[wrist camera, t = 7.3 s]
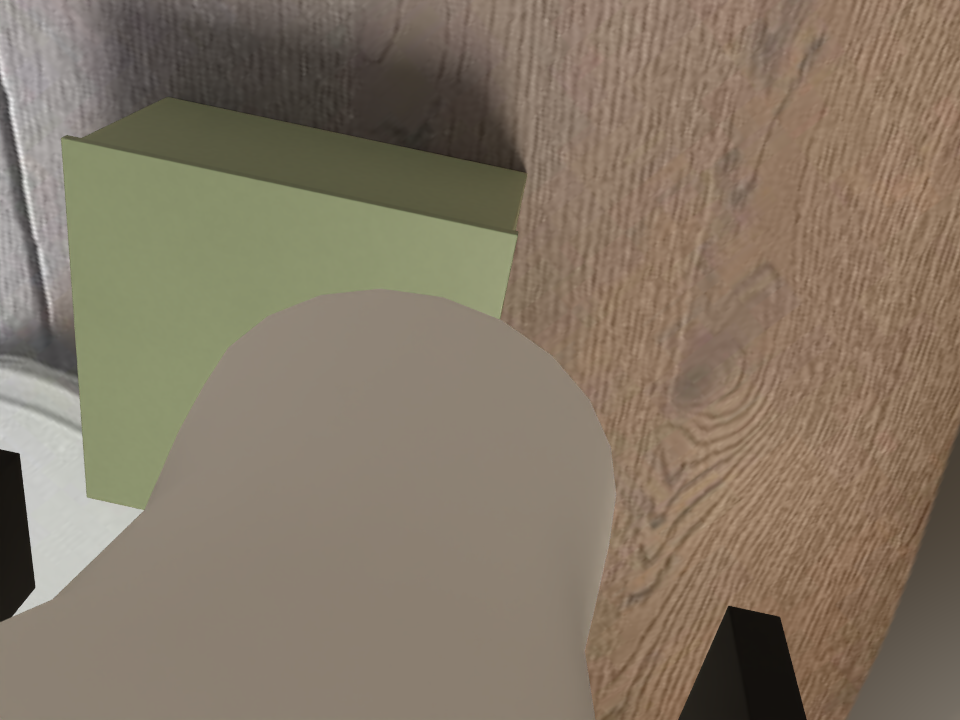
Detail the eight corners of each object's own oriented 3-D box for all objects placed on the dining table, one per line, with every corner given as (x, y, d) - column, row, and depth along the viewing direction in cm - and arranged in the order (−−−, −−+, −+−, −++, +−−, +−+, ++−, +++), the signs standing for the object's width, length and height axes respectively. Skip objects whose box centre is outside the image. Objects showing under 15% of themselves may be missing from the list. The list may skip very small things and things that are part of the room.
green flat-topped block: (162, 90, 37) (60, 137, 30) (533, 169, 36) (517, 235, 29) (165, 403, 45) (86, 497, 38) (468, 469, 44) (445, 577, 38)
